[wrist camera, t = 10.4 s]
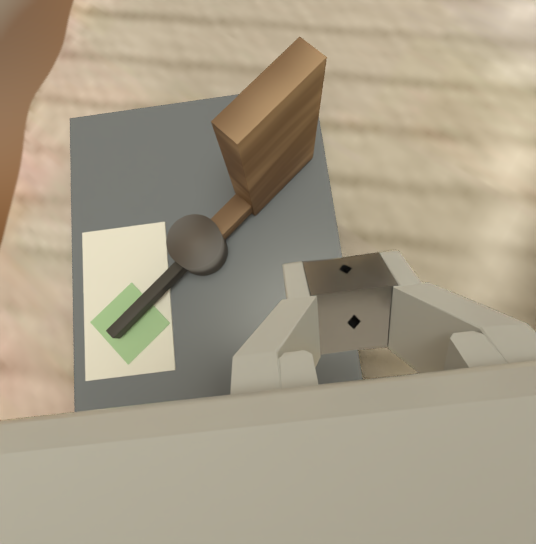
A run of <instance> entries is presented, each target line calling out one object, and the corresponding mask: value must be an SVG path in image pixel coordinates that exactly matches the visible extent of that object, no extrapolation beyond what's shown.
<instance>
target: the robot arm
mask: <svg viewBox="0 0 536 544" xmlns="http://www.w3.org/2000/svg"><path fill="white" fill-rule="evenodd" d="M282 267H283V276H284V285H285V294H286V299H283V300H281V301H280V302H279V303H278V305H277V306H276V307H275V308H274V309H273V310H272V312H271V313H270V314H269V315H268V316H267V317H266V319H265V320H264V321H263V322H262V323H261V324H260V326H259V327H258V328H257V329H256V330H255V331H254V333H253V334H252V335H251V336H250V337H249V338H248V340H247V341H246V342H245V343H244V344H243V345H242V347H241V348H240V349H239V350H238V351H237V352H236V354H235V355H234V356H233V359H232V375H231V391H230V395H221V396H212V397H203V398H194V399H185V400H177V401H168V402H159V403H150V404H141V405H132V406H123V407H114V408H105V409H96V410H87V411H78V412H69V413H61V414H52V415H43V416H34V417H25V418H16V419H7V420H0V544H536V332H535V331H534V330H533V329H532V328H531V327H530V326H529V324H528V323H525V322H523V321H520V320H518V319H516V318H513V317H511V316H508V315H506V314H504V313H501V312H499V311H496V310H494V309H492V308H489V307H487V306H484V305H482V304H480V303H477V302H475V301H472V300H470V299H468V298H465V297H463V296H460V295H458V294H456V293H453V292H451V291H448V290H446V289H444V288H441V287H439V286H436V285H434V284H432V283H429V282H425V283H422V282H421V280H420V279H419V277H418V276H417V275H416V273H415V272H414V271H413V269H412V268H411V266H410V265H409V264H408V262H407V261H406V260H405V258H404V257H403V255H402V254H401V253H400V251H398V250H390V251H384V252H377V253H370V254H363V255H357V256H350V257H343V258H330V259H321V260H311V261H302V262H301V261H299V262H292V263H284V264H283V265H282ZM383 347H388V349H389V350H391V351H392V352H393V353H394V354H396V355H397V356H398V357H399V358H401V359H402V360H403V361H404V362H406V363H407V364H408V365H409V366H411V367H412V368H413V369H415V370H416V371H417V372H418V373H417V374H409V375H400V376H391V377H382V378H373V379H364V380H355V381H346V382H337V383H328V384H318V379H317V375H316V370H315V367H316V365H317V363H318V361H319V359H320V357H321V355H323V354H330V353H337V352H344V351H351V350H361V349H372V348H383Z"/></svg>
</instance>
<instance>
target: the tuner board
mask: <svg viewBox="0 0 536 544" xmlns="http://www.w3.org/2000/svg"><path fill="white" fill-rule="evenodd" d="M238 95H239V94H238ZM238 95H231V96H224V97H217V98H210V99H203V100H196V101H189V102H182V103H175V104H168V105H161V106H154V107H147V108H140V109H133V110H126V111H119V112H112V113H105V114H98V115H91V116H84V117H77V118H70V156H71V217H72V278H73V338H74V399H75V412H78V411H87V410H96V409H105V408H114V407H123V406H132V405H141V404H150V403H159V402H168V401H177V400H185V399H194V398H203V397H212V396H221V395H230V391H231V375H232V359H233V356H234V355H235V354H236V352H237V351H238V350H239V349H240V348H241V347H242V345H243V344H244V343H245V342H246V341H247V340H248V338H249V337H250V336H251V335H252V334H253V333H254V331H255V330H256V329H257V328H258V327H259V326H260V324H261V323H262V322H263V321H264V320H265V319H266V317H267V316H268V315H269V314H270V313H271V312H272V310H273V309H274V308H275V307H276V306H277V305H278V303H279V302H280V301H281V300H283V299H286V294H285V285H284V276H283V267H282V265H283V264H284V263H292V262H299V261H301V262H302V261H311V260H321V259H330V258H342V253H341V247H340V241H339V235H338V229H337V223H336V217H335V211H334V205H333V199H332V193H331V187H330V181H329V175H328V169H327V163H326V157H325V151H324V145H323V139H322V133H321V127H320V121H319V117H318V124H317V131H316V138H315V146H314V153H313V158H312V159H311V160H310V161H309V162H308V163H307V164H306V165H305V166H304V167H303V168H302V169H301V170H300V171H299V172H298V173H297V174H296V175H295V176H294V177H293V178H292V179H291V180H290V181H289V182H288V183H287V184H286V185H285V186H284V187H283V188H282V189H281V190H280V191H279V192H278V193H277V194H276V195H275V196H274V197H273V198H272V199H271V200H270V201H269V202H268V203H267V204H266V205H265V206H264V207H263V208H262V209H261V210H260V212H259V213H258V214H257V215H256V216H254V215H253V214H252V213H251V214H250V215H249V216H248V217H247V218H246V219H245V220H244V221H243V222H242V223H241V224H240V225H239V226H238V227H237V228H236V229H235V230H234V231H233V232H232V233H231V234H230V235H229V236H228V237H227V238H226V239H225V240H226V243H227V246H228V255H227V259H226V261H225V263H224V264H223V266H222V267H221V268H220V269H219V270H218V271H216V272H215V273H213V274H210V275H205V276H199V275H195V274H192V273H190V272H189V271H187V272H186V273H185V274H184V275H183V276H182V277H181V278H180V279H179V280H178V281H177V282H176V283H175V284H174V285H173V286H172V287H171V288H170V289H169V290H168V291H167V292H166V293H165V294H164V295H163V296H162V297H161V298H160V299H159V300H158V301H157V302H156V303H155V304H154V305H153V306H152V307H151V308H150V309H149V310H148V311H147V312H146V313H145V314H144V315H143V316H142V317H141V318H140V319H139V320H138V321H137V322H136V323H135V324H134V325H133V326H132V327H131V328H130V329H129V330H128V331H127V332H126V333H125V334H124V335H123V336H122V337H121V338H120V339H118V338H112V337H111V336H110V335H109V334H108V333H107V332H106V330H107V329H108V328H109V327H110V326H111V325H112V324H113V323H114V322H115V321H116V320H117V319H118V318H119V317H120V316H121V315H122V314H123V313H124V312H125V311H126V310H127V309H128V308H129V307H130V306H131V305H132V304H133V303H134V302H135V301H136V300H137V299H138V298H139V297H140V296H141V295H142V294H143V293H144V292H145V291H146V290H147V289H148V288H149V287H150V286H151V285H152V284H153V283H154V282H155V281H156V280H157V279H158V278H159V277H160V276H161V275H162V274H163V273H164V272H165V271H166V270H167V269H168V268H169V267H170V266H171V265H172V264H173V263H174V262H175V261H174V260H173V259H172V258H171V256H170V255H169V253H168V250H167V246H166V239H167V234H168V232H169V230H170V228H171V226H172V225H173V224H174V223H175V222H176V221H177V220H178V219H180V218H182V217H184V216H186V215H191V214H199V215H204V216H206V217H208V218H210V219H211V218H212V217H213V216H214V215H215V214H216V213H217V212H218V211H219V210H220V209H221V208H222V207H223V206H224V205H225V204H226V203H227V202H228V201H229V200H230V199H231V198H232V197H233V196H234V195H235V191H234V188H233V185H232V182H231V179H230V176H229V173H228V170H227V167H226V165H225V162H224V159H223V156H222V153H221V150H220V147H219V144H218V141H217V138H216V135H215V132H214V129H213V126H212V123H211V121H212V120H213V119H214V118H215V117H216V116H217V115H218V114H219V113H220V112H221V111H222V110H223V109H225V108H226V107H227V106H228V105H229V104H230V103H231V102H232V101H233V100H234V99H235V98H236V97H237V96H238ZM315 370H316V375H317V379H318V384H328V383H337V382H346V381H355V380H363V379H362V373H361V367H360V361H359V355H358V350H351V351H344V352H337V353H330V354H323V355H321V357H320V359H319V361H318V363H317V365H316V367H315Z"/></svg>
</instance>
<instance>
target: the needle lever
mask: <svg viewBox="0 0 536 544" xmlns="http://www.w3.org/2000/svg"><path fill="white" fill-rule="evenodd" d="M326 59H327V57H326V56H325V55H323V54H322V53H321V52H319V51H318V50H317V49H315V48H314V47H313V46H311V45H310V44H309V43H307V42H306V41H305V40H304V39H302V38H301V37H299V38H298V39H297V40H296V41H295V42H294V43H293V44H292V45H290V46H289V47H288V48H287V49H286V50H285V51H284V52H283V53H282V54H281V55H280V56H279V57H278V58H277V59H276V60H275V61H274V62H273V63H272V64H271V65H270V66H268V67H267V68H266V69H265V70H264V71H263V72H262V73H261V74H260V75H259V76H258V77H257V78H256V79H255V80H254V81H253V82H252V83H251V84H250V85H249V86H248V87H247V88H245V89H244V90H243V91H242V92H241V93H240V94H239V95H238V96H237V97H236V98H235V99H234V100H233V101H232V102H231V103H230V104H229V105H228V106H227V107H226V108H225V109H223V110H222V111H221V112H220V113H219V114H218V115H217V116H216V117H215V118H214V119H213V120H212V121H211V123H212V126H213V129H214V132H215V135H216V138H217V141H218V144H219V147H220V150H221V153H222V156H223V159H224V162H225V165H226V167H227V170H228V173H229V176H230V179H231V182H232V185H233V188H234V191H235V195H234V196H233V197H232V198H231V199H230V200H229V201H228V202H227V203H226V204H225V205H224V206H223V207H222V208H221V209H220V210H219V211H218V212H217V213H216V214H215V215H214V216H213V217H212V218H211V219H210V218H208V217H206V216H204V215H199V214H191V215H186V216H184V217H182V218H180V219H178V220H177V221H176V222H175V223H174V224H173V225H172V226H171V228H170V230H169V232H168V234H167V239H166V246H167V250H168V253H169V255H170V256H171V258H172V259H173V260H174V261H175V262H174V263H173V264H172V265H171V266H170V267H169V268H168V269H167V270H166V271H165V272H164V273H163V274H162V275H161V276H160V277H159V278H158V279H157V280H156V281H155V282H154V283H153V284H152V285H151V286H150V287H149V288H148V289H147V290H146V291H145V292H144V293H143V294H142V295H141V296H140V297H139V298H138V299H137V300H136V301H135V302H134V303H133V304H132V305H131V306H130V307H129V308H128V309H127V310H126V311H125V312H124V313H123V314H122V315H121V316H120V317H119V318H118V319H117V320H116V321H115V322H114V323H113V324H112V325H111V326H110V327H109V328H108V329H107V330H106V332H107V333H108V334H109V335H110V336H111V337H112V338H118V339H120V338H121V337H122V336H123V335H124V334H125V333H126V332H127V331H128V330H129V329H130V328H131V327H132V326H133V325H134V324H135V323H136V322H137V321H138V320H139V319H140V318H141V317H142V316H143V315H144V314H145V313H146V312H147V311H148V310H149V309H150V308H151V307H152V306H153V305H154V304H155V303H156V302H157V301H158V300H159V299H160V298H161V297H162V296H163V295H164V294H165V293H166V292H167V291H168V290H169V289H170V288H171V287H172V286H173V285H174V284H175V283H176V282H177V281H178V280H179V279H180V278H181V277H182V276H183V275H184V274H185V273H186V272H187V271H189V272H190V273H192V274H195V275H199V276H205V275H210V274H213V273H215V272H216V271H218V270H219V269H220V268H221V267H222V266H223V264H224V263H225V261H226V259H227V255H228V246H227V243H226V240H225V239H226V238H227V237H228V236H229V235H230V234H231V233H232V232H233V231H234V230H235V229H236V228H237V227H238V226H239V225H240V224H241V223H242V222H243V221H244V220H245V219H246V218H247V217H248V216H249V215H250V214H251V213H252V214H253V215H254V216H256V215H257V214H258V213H259V212H260V210H261V209H262V208H263V207H264V206H265V205H266V204H267V203H268V202H269V201H270V200H271V199H272V198H273V197H274V196H275V195H276V194H277V193H278V192H279V191H280V190H281V189H282V188H283V187H284V186H285V185H286V184H287V183H288V182H289V181H290V180H291V179H292V178H293V177H294V176H295V175H296V174H297V173H298V172H299V171H300V170H301V169H302V168H303V167H304V166H305V165H306V164H307V163H308V162H309V161H310V160H311V159H312V158H313V153H314V146H315V138H316V131H317V124H318V117H319V110H320V102H321V95H322V88H323V81H324V74H325V66H326Z"/></svg>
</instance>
